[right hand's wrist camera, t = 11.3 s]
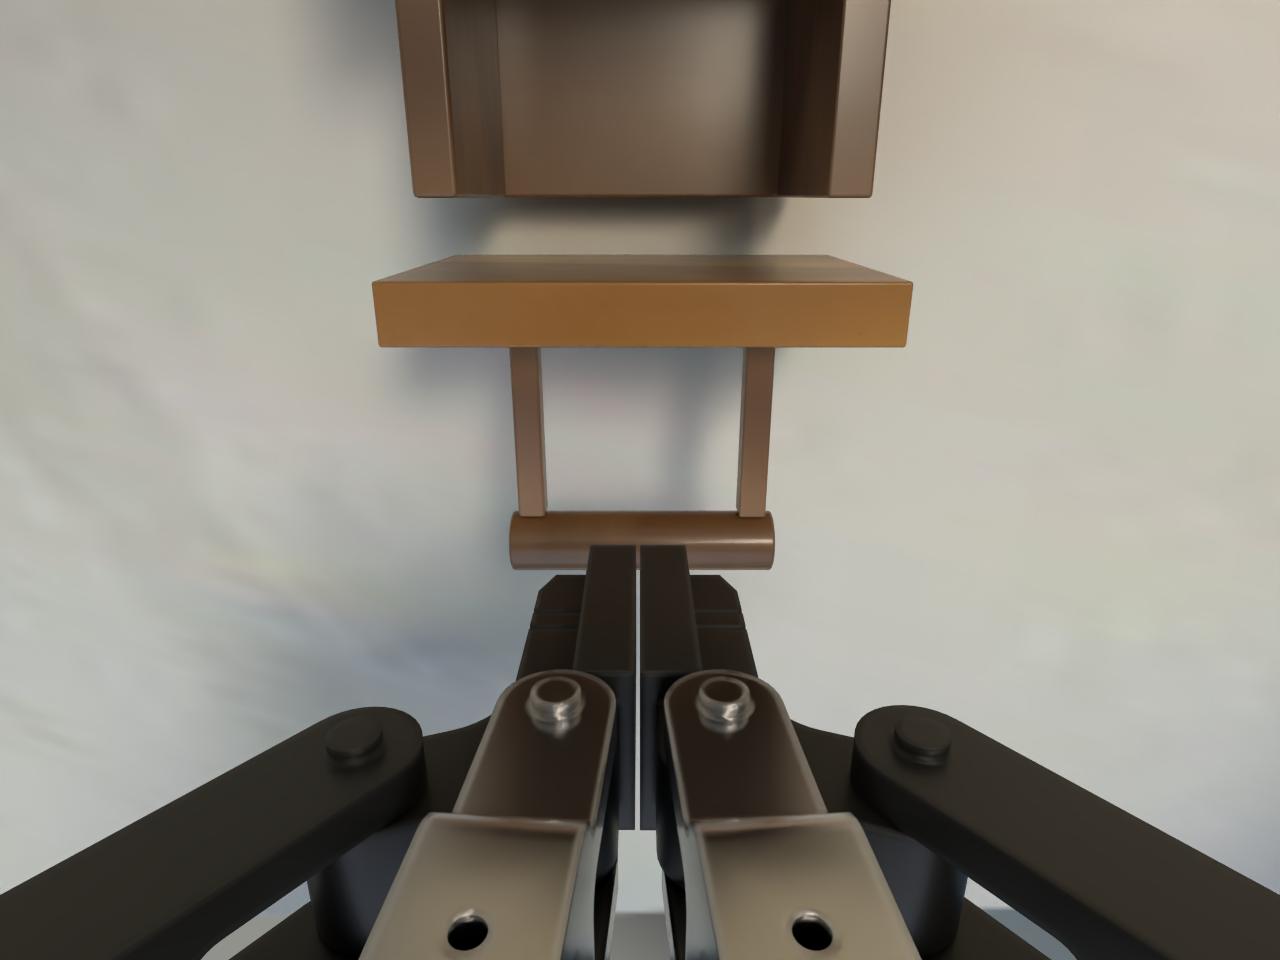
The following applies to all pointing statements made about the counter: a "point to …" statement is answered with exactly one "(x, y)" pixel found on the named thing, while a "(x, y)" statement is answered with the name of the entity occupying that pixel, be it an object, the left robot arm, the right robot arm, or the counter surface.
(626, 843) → the counter surface
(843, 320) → the drawer
